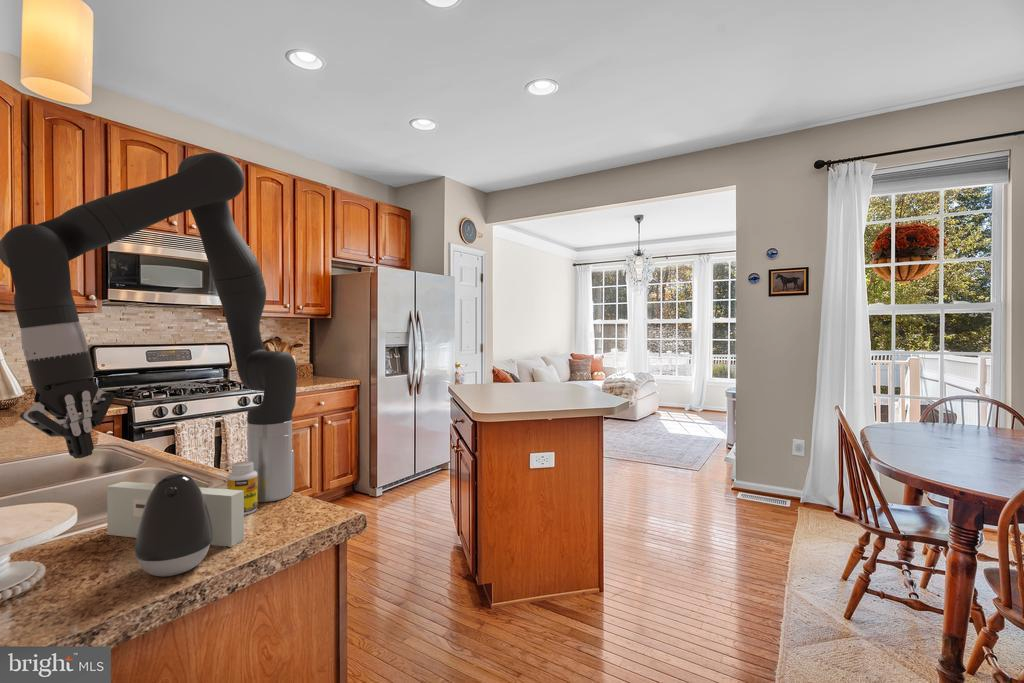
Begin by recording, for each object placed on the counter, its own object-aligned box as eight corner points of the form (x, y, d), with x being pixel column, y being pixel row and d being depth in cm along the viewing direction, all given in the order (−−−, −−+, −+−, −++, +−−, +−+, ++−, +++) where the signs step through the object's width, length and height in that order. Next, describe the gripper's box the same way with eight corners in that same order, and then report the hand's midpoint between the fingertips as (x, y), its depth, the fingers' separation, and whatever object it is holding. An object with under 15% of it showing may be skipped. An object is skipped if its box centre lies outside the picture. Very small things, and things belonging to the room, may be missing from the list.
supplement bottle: (231, 519, 98) (231, 468, 98) (223, 511, 102) (223, 463, 102) (261, 512, 102) (261, 463, 102) (253, 505, 106) (252, 458, 106)
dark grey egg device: (126, 591, 71) (126, 487, 71) (142, 561, 80) (142, 469, 80) (209, 576, 75) (209, 478, 75) (215, 549, 85) (215, 462, 85)
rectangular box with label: (123, 528, 93) (122, 481, 93) (243, 539, 89) (243, 490, 89) (105, 535, 90) (104, 487, 90) (229, 548, 85) (229, 496, 85)
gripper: (25, 358, 71) (54, 472, 73) (117, 344, 84) (139, 441, 86) (-11, 363, 73) (18, 473, 75) (84, 348, 86) (107, 443, 88)
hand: (83, 456), depth 81 cm, fingers closed
